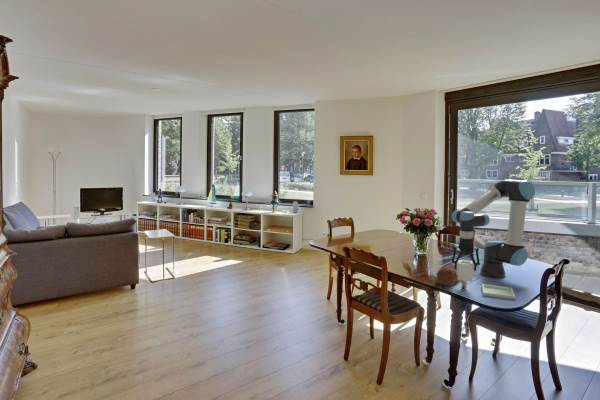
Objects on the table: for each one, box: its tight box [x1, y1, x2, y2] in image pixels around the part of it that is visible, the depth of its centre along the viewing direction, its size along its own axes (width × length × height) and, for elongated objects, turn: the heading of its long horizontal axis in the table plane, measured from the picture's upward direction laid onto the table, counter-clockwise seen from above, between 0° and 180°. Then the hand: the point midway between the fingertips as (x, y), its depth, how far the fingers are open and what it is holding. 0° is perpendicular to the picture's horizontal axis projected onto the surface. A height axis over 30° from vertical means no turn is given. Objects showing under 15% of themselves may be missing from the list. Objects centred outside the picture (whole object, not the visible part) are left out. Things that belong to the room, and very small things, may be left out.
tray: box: [481, 283, 516, 301], centre depth 220 cm, size 16×16×2 cm
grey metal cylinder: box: [460, 280, 468, 291], centre depth 227 cm, size 4×4×12 cm
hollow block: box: [457, 259, 474, 282], centre depth 226 cm, size 8×8×10 cm
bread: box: [436, 264, 461, 287], centre depth 241 cm, size 19×11×10 cm, turn 138°
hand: (464, 275), depth 227 cm, fingers closed on hollow block, 8 cm apart
